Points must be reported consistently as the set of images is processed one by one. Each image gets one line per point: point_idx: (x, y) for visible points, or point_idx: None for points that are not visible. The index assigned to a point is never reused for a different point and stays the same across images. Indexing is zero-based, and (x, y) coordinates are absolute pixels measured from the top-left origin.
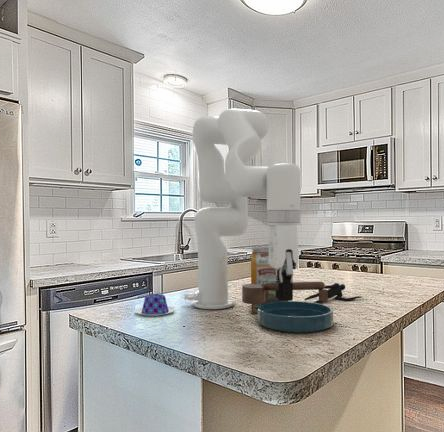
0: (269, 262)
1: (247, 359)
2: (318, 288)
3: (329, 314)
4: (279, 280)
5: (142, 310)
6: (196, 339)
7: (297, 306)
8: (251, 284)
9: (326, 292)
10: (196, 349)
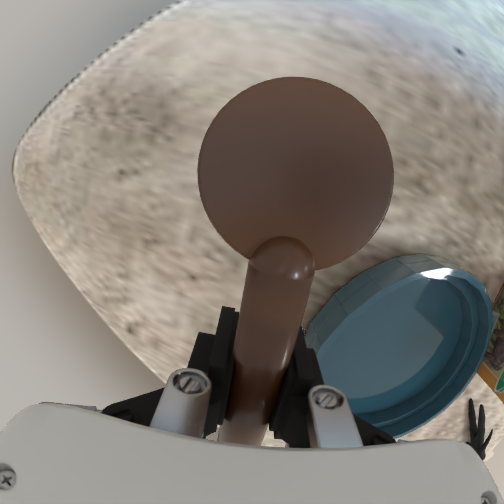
0: (421, 462)
1: (120, 110)
2: None
3: None
4: (297, 398)
5: None
6: (336, 22)
7: (452, 385)
8: (369, 181)
9: None
10: (240, 2)
